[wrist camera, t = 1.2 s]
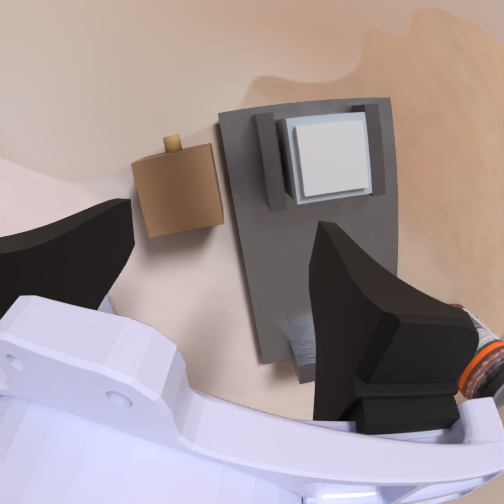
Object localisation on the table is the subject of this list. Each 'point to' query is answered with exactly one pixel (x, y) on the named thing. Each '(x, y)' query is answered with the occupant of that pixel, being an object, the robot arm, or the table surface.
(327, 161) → the ram
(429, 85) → the table surface
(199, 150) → the block
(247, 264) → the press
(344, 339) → the robot arm
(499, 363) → the supplement bottle
